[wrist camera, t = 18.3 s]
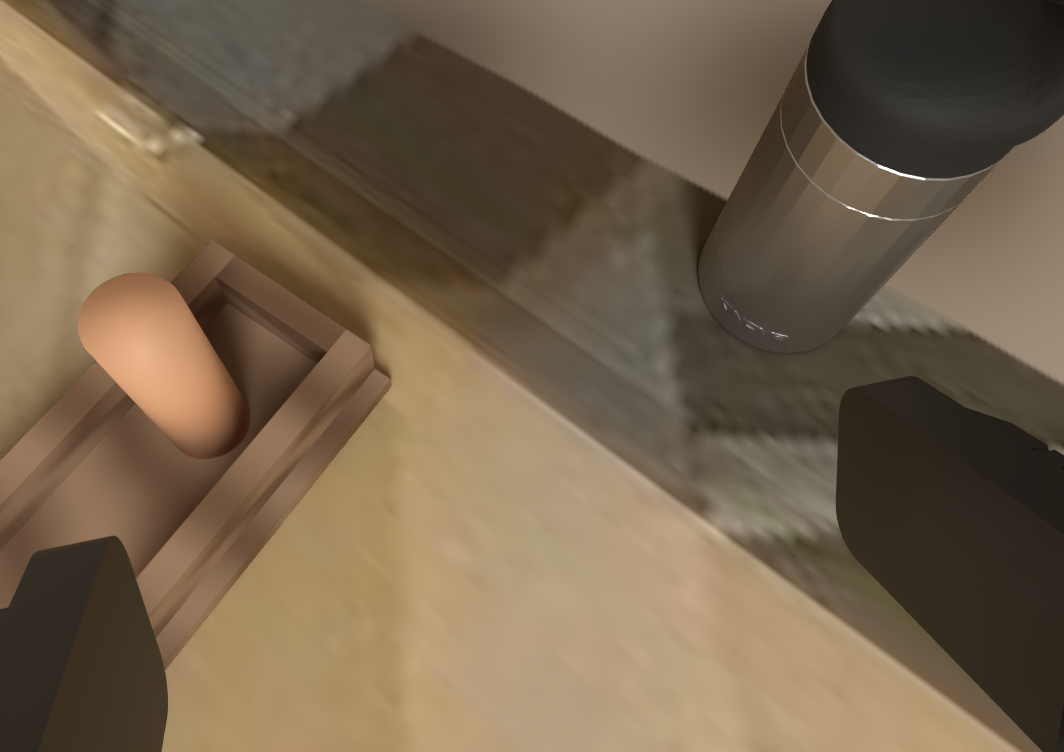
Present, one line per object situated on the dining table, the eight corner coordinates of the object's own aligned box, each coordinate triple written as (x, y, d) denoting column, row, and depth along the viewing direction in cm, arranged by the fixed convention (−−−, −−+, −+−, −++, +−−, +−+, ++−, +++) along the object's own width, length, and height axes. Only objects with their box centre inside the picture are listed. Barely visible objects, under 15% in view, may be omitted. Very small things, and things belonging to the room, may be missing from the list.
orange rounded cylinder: (204, 369, 48) (127, 254, 37) (266, 411, 48) (207, 307, 36) (151, 430, 47) (55, 331, 36) (214, 474, 46) (136, 386, 35)
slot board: (213, 267, 52) (196, 229, 48) (391, 386, 50) (387, 356, 46) (-72, 569, 44) (-118, 552, 41) (124, 720, 43) (95, 716, 39)
